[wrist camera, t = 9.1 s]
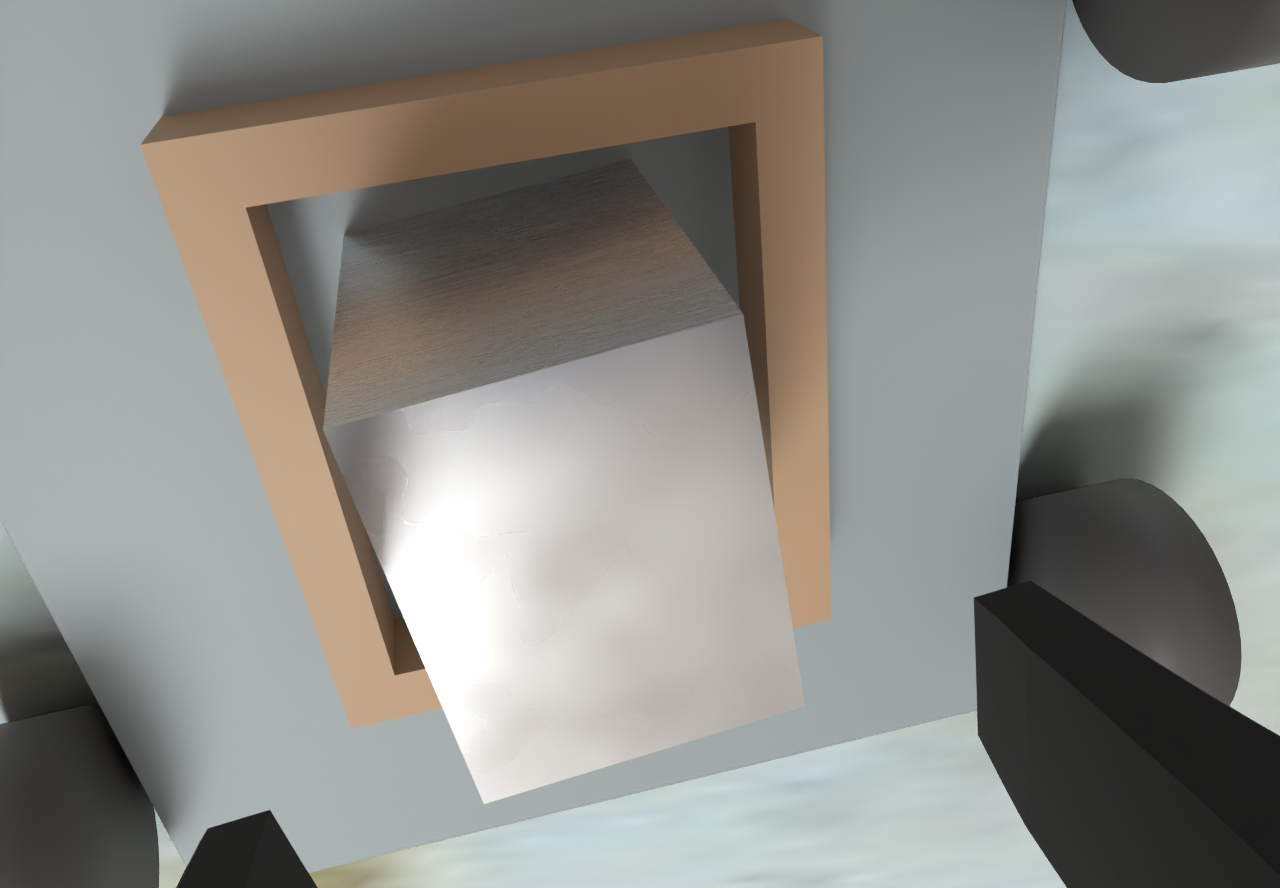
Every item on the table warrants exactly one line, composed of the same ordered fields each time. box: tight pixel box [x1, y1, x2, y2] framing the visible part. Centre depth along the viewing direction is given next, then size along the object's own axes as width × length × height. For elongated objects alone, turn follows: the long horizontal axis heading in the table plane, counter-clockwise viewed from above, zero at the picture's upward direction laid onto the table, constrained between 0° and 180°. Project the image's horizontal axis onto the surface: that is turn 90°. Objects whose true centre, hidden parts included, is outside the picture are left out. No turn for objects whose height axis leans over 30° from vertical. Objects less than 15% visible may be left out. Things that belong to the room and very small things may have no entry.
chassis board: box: [0, 0, 1280, 888], centre depth 16 cm, size 22×21×5 cm
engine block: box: [323, 159, 805, 804], centre depth 15 cm, size 4×6×6 cm
